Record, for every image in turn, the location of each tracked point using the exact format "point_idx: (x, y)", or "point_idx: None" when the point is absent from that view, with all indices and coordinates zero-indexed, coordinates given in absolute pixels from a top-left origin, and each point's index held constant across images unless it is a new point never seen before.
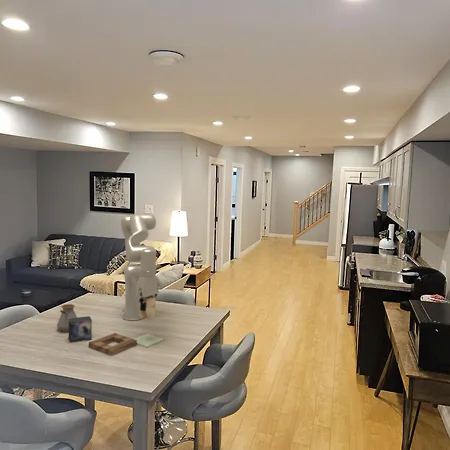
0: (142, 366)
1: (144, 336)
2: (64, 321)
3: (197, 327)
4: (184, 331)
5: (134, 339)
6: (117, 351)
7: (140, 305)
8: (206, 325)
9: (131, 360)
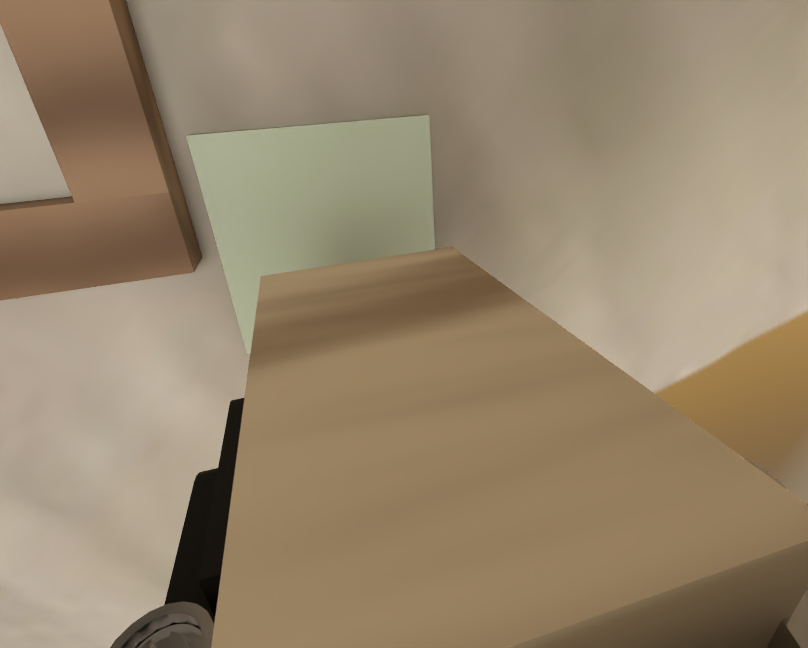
0: (49, 561)
1: (364, 158)
2: None
3: (737, 280)
4: (641, 279)
5: (182, 240)
6: None
7: (179, 544)
8: (786, 291)
9: (11, 466)
